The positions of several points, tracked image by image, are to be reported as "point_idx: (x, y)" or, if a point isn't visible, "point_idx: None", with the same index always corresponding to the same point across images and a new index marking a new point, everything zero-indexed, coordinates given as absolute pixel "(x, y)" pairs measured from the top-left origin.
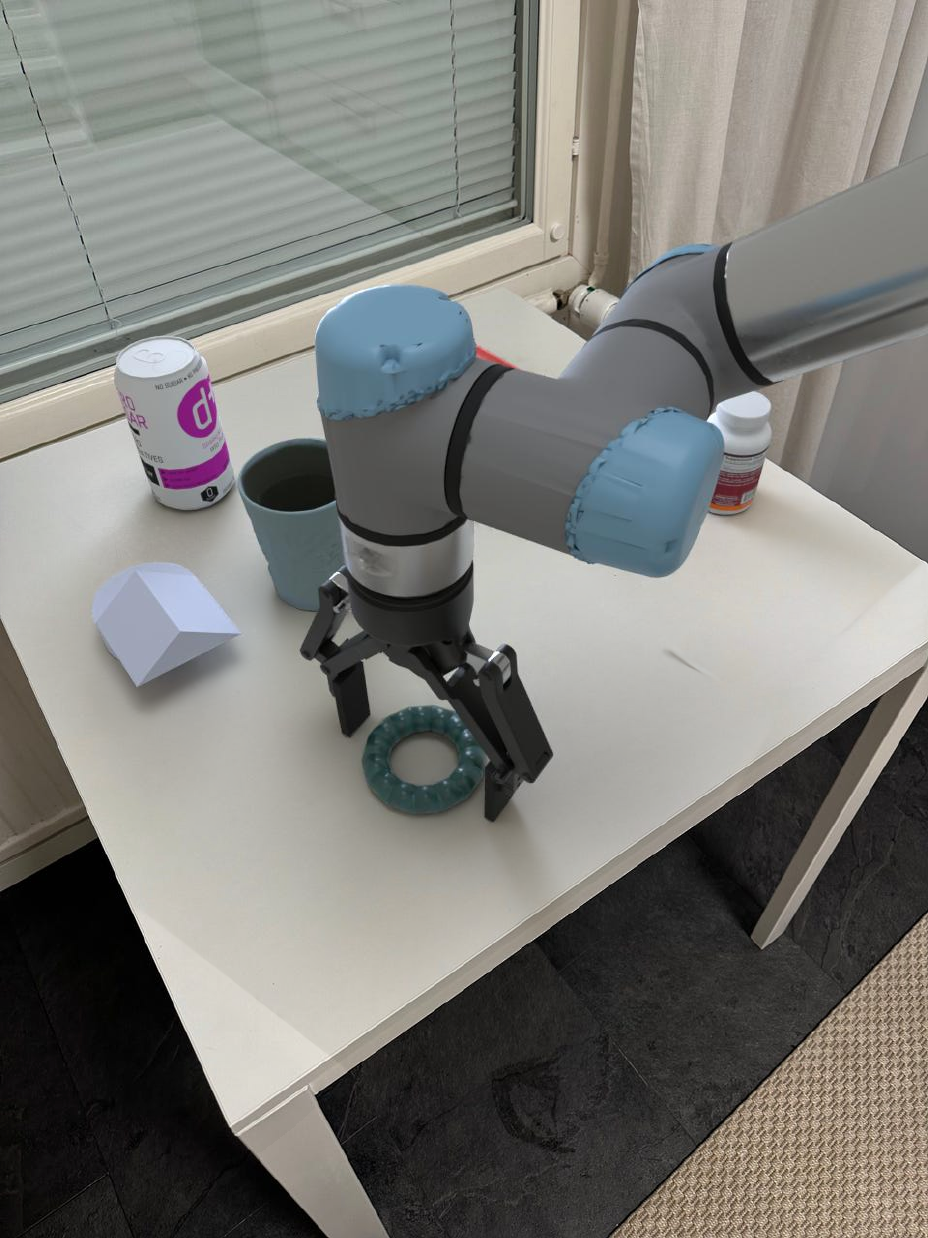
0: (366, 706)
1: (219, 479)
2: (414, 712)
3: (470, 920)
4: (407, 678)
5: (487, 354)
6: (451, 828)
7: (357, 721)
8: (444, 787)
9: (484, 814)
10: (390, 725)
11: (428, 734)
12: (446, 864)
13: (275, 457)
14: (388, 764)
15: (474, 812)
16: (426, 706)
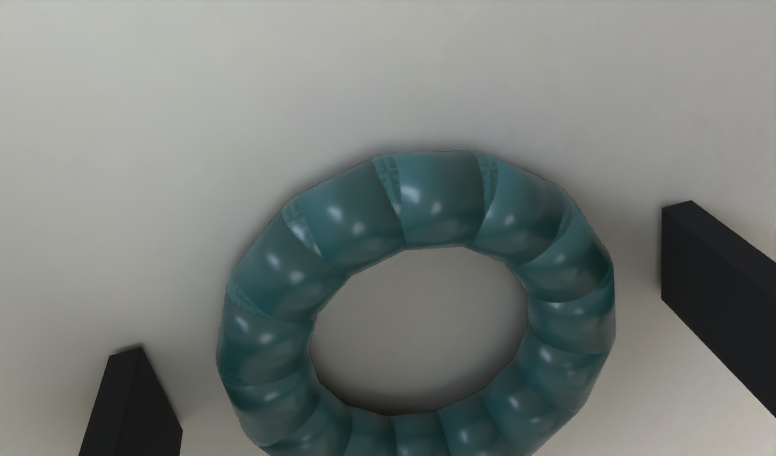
0: (138, 402)
1: None
2: (286, 311)
3: (757, 440)
4: (58, 153)
5: None
6: None
7: (162, 421)
8: (574, 389)
9: (670, 307)
10: (275, 394)
11: None
12: (647, 416)
13: None
14: (380, 444)
15: (622, 299)
16: (291, 260)
